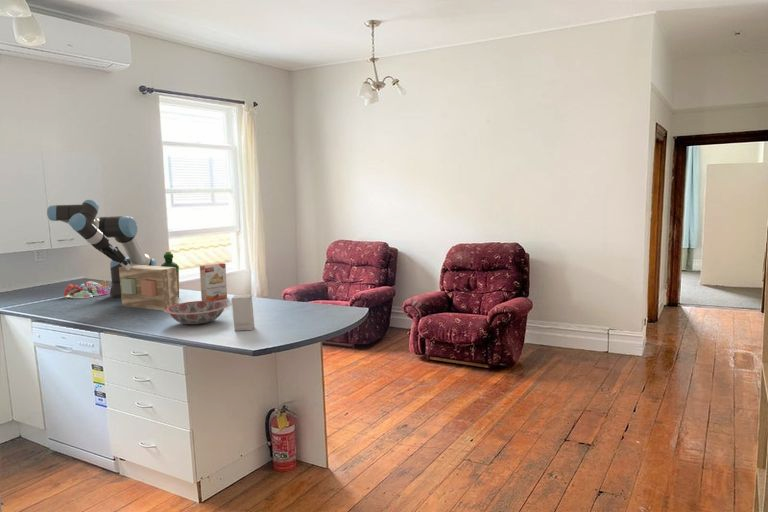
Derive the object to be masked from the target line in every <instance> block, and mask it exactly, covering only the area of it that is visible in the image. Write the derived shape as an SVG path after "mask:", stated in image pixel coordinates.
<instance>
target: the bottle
mask: <svg viewBox="0 0 768 512" xmlns="http://www.w3.org/2000/svg"><path fill="white" fill-rule="evenodd" d="M173 258H174V255H173V253H172V251H170V250H168V251H165V253H164V254H163V259H164V262H163V263H162V264H161V265H160V266H162V267H176V275H177V288H178V298H180V272H179V271H180V270H179V269H180V268H179V264H177V263H176V262H174V261H173Z"/></svg>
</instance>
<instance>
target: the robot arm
mask: <svg viewBox="0 0 768 512" xmlns="http://www.w3.org/2000/svg"><path fill="white" fill-rule="evenodd" d="M99 209H100V206H99V203H97V202H96V201H95V200H92V199H86V200H84V201H83V202H82V203H81V204H53V205H50V206H48V207H47V209H46V216H47V218H48V220H49V221H52V222H63V223H66V224H68V225H69V226H70V227H71V228H72V230H74V231H75V232H76V233H77V234H78V235H80V236H81V237H82V238H83V239H84V240H85V241H86V242H87V243H88V244H90V245H91V246H92V247H93V248H94V249H95V250H98V252H100V253H101V254H104V255H105V256H106V257H107V258H109V259H110V260H111V261H110V262H109V263H110V264H109V267H110V278H111V285H110V286H111V287H110V289H109V291H110V294H109V297H110V298H116V299H117V298H121V287H120V275H119V267H124V268H125V269H126V270H130V268H131V267H132V266H131V265H146V266H157V261H156V258H150V256H149V255H148V254H147V253H145V252H144V250H143V248H142V246H141V245H140V243H139V241H138V238H136V236H137V233H138V226H137V222H136V220H135V219H134V217H133V216H129V215H128V216H126V215H118V216H117V215H116V216H115V215H114V216H98V217H97V215H98V213H99ZM109 238H113V239H114V240H115V241H116V242H117V243H119V244H120V245H121V246H122V248H123V250H124V251H125V253H126V255H127V256H125V255H124V254H123V253H122V251H121V250H120V249H119V247H118V246H113V245H112V244H111V243H110V242H109V241H110V240H109Z"/></svg>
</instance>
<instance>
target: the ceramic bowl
mask: <svg viewBox="0 0 768 512" xmlns="http://www.w3.org/2000/svg"><path fill="white" fill-rule="evenodd" d="M227 307H229V304H228V302H225V301H222V300H214V301H202V300H194V301H186V302H181V303H179V304H175V305H172V306H169V307H167V308H166V309H165V310H164V313H167V314H169V316H171V318H172V319H173V320H174V321H176V322H177V323H181V324H183V325H200V324H205V323H210V322H212V321H215V320H216V319H217V318H219V317H220V316H221V315H222V314H223V312H224V311H225V309H227Z"/></svg>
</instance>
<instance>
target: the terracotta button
mask: <svg viewBox="0 0 768 512" xmlns="http://www.w3.org/2000/svg"><path fill="white" fill-rule="evenodd" d="M141 291H142V295H144V296H155V295H157V294H156V281H154V280H142V281H141Z"/></svg>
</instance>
